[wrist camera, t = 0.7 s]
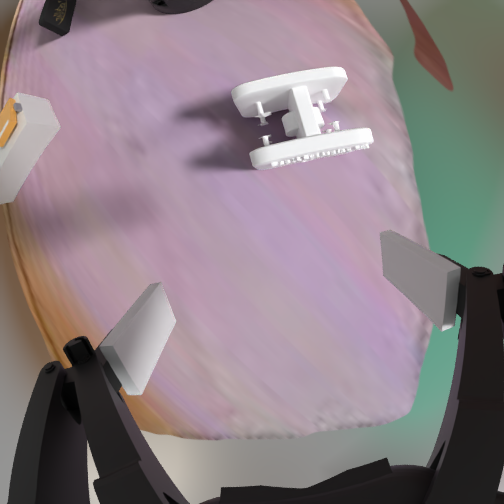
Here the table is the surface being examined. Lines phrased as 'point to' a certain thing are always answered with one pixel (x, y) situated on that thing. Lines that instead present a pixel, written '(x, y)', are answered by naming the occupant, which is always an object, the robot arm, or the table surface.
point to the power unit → (25, 142)
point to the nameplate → (57, 15)
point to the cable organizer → (298, 116)
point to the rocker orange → (7, 121)
